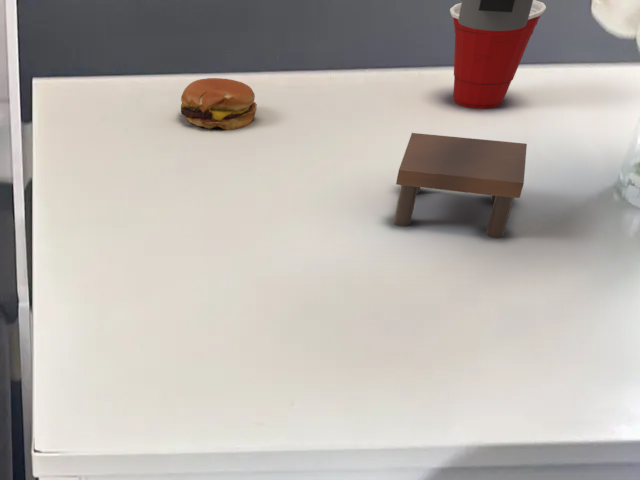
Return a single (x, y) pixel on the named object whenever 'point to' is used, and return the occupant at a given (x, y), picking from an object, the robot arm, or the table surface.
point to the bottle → (494, 16)
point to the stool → (462, 173)
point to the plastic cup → (488, 60)
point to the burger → (218, 103)
